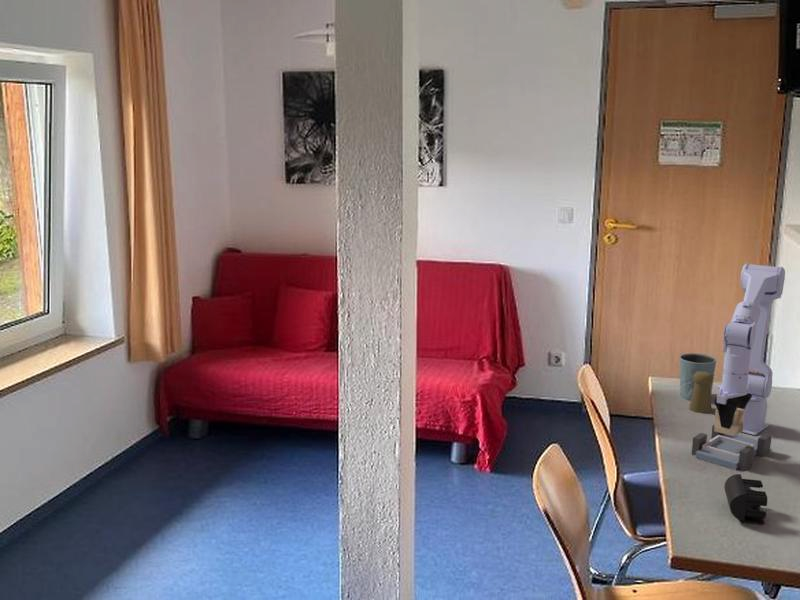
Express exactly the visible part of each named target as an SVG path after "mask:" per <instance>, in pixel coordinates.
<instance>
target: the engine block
mask: <svg viewBox="0 0 800 600" xmlns="http://www.w3.org/2000/svg"><path fill="white" fill-rule="evenodd" d="M743 421H744V409H741V408H737V409H736V411H735V414H734V417H733V422H732V425H731V428H730V429H727V428H724V427H721V424H720V418H719V413H718V410H717V408H716V409H715V412H714V424H715V425H714V424H713V425H714V431H716V432H720V433H723V434H727V435H731V436H735V435H739V434H740V433H742V432H741V431H743Z"/></svg>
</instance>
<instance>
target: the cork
mask: <svg viewBox="0 0 800 600" xmlns="http://www.w3.org/2000/svg"><path fill="white" fill-rule="evenodd" d="M693 379H694V382H695V386H694V390H693V394H692V398H691V401H690V404H689V406H688V407H689V410H690V411H692V412H694V413H699V414H709V413H711V412H712V393H711V389H710V385H711V383H712V382H713V383H714V379H713V376H712V374H711V373H709V372H705V371H699V372H696V373H695V374H694V378H693Z"/></svg>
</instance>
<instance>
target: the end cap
mask: <svg viewBox="0 0 800 600" xmlns="http://www.w3.org/2000/svg"><path fill="white" fill-rule="evenodd" d="M752 488H757V489H761V488H762V489H763V488H764V485H763V483H762V480H760V479H750V478H749V479H748V478H743V476H742V475H741V474H740V473H739V474H738V473H737V474H733V475H730V476H729V477H727V479H726V480H725V482H724V492H725V496H726V500H727V504H728V507H729V510H730V513H731V514H732V516H733V517H735V519H736V520H738V521H739V522H740V523H743V524H751V525H759V526H764V525H765V519H766V515H767V511H765V510H761V507H767V506H768V496H767V493H766V491H761V490H754V489H752Z"/></svg>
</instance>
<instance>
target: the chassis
mask: <svg viewBox="0 0 800 600" xmlns="http://www.w3.org/2000/svg"><path fill="white" fill-rule="evenodd" d="M714 425H715V423H714V424H713V425H712V427H711V428H712V429H711V437H710V440H708V441H707V439H708V434H707V433H703V432H700V433H698V434H697V435H695V436H693V437H692V446H691V456H695V455H696V456H695V458H696V459H698V458H699V459H698V460H701V459H702V460H701V461H704V460H705V461H704V462H708V461H709V463H711V462H712V463H711V464H714V463H715V465H718V464H719V466H721V465H722V466H721V467H724V466H725V468H728V467H729V468H728V469H731V468H732V470H734V471H736V470H737V469H739V470H742V471H746V470H747V469H749V468H750V467H751V466H752V465H753V461H754V460H753V459H754V457H756V456H760V457H765V456H766V455H767V454H769V453H770V451H771V445H772V434H769V433H766V432H765V433H763V434H762V435H760V436H759V437H758V438H757V439H755V438H751V437H746V436H743V435H740V434H737V435H735V436H731V435H727V434H723V433H720V432H716V431H714Z"/></svg>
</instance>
